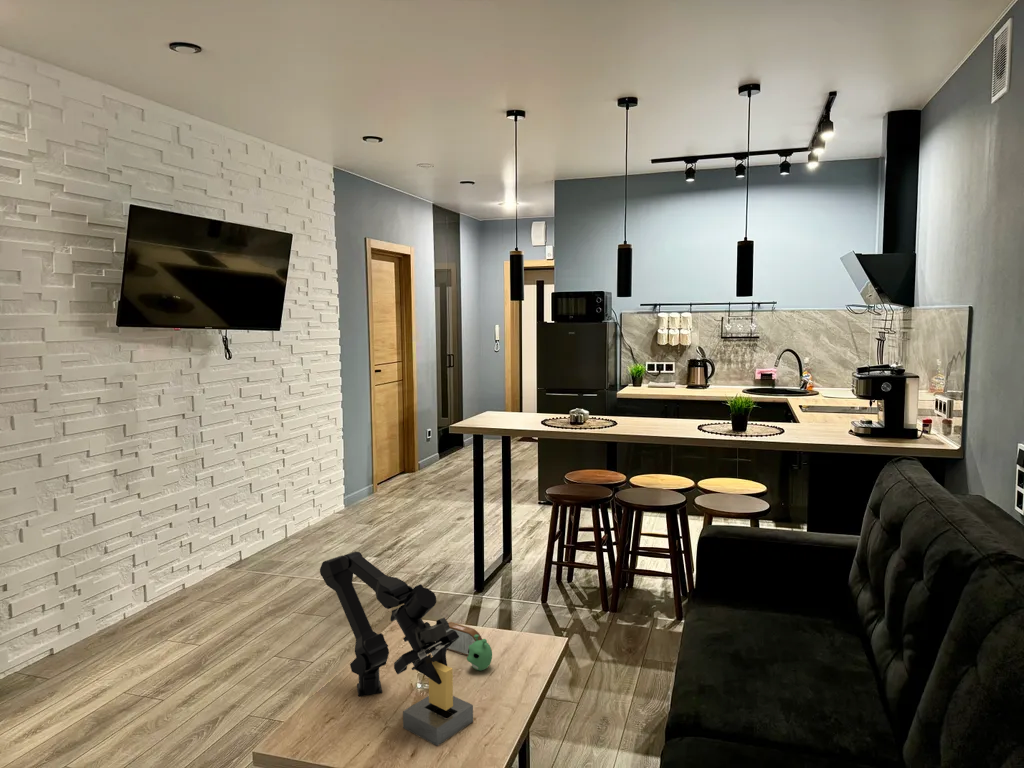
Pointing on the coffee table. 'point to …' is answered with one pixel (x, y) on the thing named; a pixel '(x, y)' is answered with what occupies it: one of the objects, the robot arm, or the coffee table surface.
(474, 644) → the alien toy
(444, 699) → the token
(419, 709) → the box
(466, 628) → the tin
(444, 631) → the robot arm
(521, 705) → the coffee table surface
